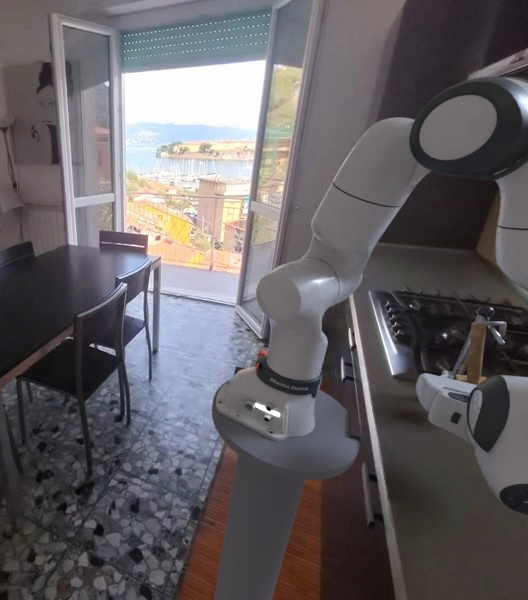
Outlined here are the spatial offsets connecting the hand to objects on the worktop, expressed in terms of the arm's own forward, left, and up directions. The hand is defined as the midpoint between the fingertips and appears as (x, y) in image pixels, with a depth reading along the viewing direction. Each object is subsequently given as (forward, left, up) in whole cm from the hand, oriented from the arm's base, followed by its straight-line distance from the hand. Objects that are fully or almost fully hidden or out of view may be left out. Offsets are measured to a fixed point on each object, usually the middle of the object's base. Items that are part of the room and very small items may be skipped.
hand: (477, 380), depth 69 cm
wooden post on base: (+4, +11, -9) cm, 14 cm away
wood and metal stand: (+2, +12, -16) cm, 20 cm away
